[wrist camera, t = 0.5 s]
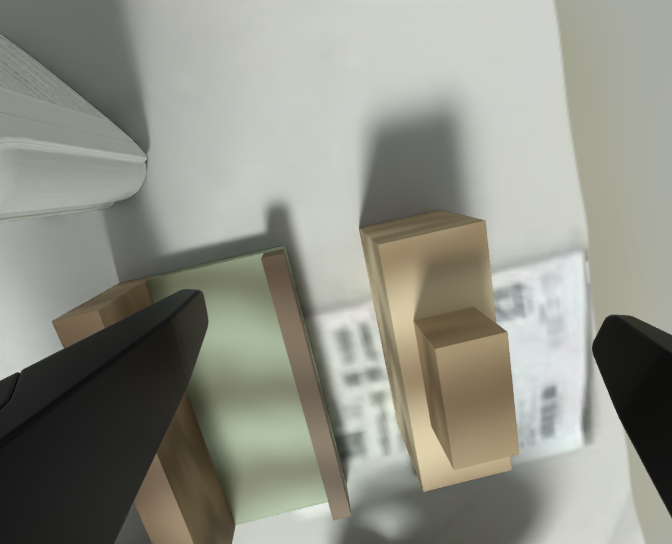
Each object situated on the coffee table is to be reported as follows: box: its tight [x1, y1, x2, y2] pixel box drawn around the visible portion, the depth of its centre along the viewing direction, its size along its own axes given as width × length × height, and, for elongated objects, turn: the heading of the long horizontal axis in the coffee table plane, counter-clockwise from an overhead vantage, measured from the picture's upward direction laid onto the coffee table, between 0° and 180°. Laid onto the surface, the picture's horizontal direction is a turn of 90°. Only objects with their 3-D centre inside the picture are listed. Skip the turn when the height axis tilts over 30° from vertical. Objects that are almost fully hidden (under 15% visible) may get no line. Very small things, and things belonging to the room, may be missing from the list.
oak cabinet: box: [359, 210, 519, 492], centre depth 20 cm, size 14×5×9 cm, turn 12°
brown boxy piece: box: [52, 245, 351, 544], centre depth 21 cm, size 18×10×6 cm, turn 12°
